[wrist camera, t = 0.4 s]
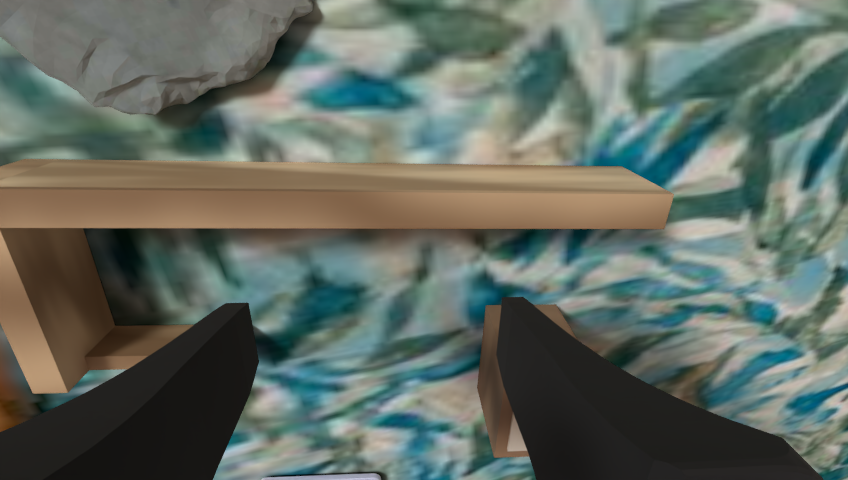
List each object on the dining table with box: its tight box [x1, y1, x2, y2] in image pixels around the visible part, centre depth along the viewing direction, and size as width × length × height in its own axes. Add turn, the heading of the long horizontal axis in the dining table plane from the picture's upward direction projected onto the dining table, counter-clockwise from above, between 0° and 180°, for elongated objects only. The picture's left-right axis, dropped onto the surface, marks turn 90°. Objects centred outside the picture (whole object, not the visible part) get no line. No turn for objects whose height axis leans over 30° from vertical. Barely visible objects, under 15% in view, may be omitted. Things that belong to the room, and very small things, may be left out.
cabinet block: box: [477, 305, 577, 458], centre depth 23 cm, size 6×4×5 cm, turn 178°
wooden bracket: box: [0, 159, 674, 393], centre depth 20 cm, size 10×28×4 cm, turn 88°
